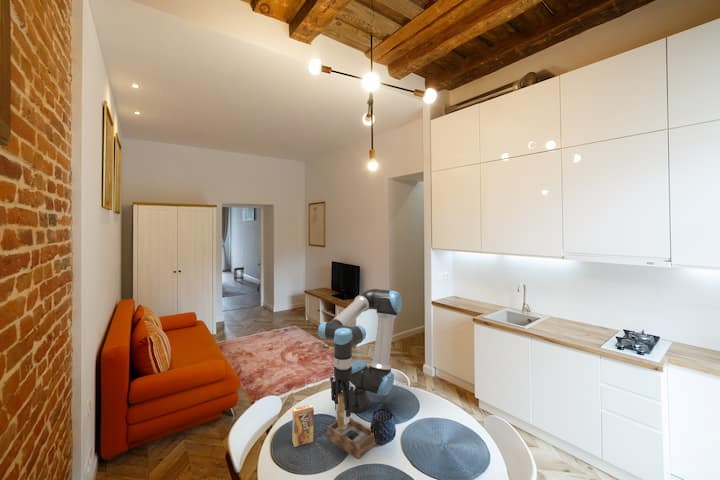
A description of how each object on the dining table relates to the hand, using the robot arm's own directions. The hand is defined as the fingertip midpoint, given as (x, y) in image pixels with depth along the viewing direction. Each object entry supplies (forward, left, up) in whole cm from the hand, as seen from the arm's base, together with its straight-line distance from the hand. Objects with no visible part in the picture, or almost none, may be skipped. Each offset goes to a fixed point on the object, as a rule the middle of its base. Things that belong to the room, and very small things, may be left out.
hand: (342, 420), depth 126 cm
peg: (0, 0, -3) cm, 3 cm away
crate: (-3, +9, -15) cm, 18 cm away
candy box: (-19, -6, -15) cm, 25 cm away
